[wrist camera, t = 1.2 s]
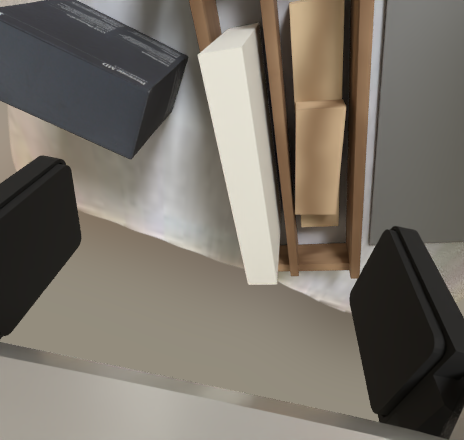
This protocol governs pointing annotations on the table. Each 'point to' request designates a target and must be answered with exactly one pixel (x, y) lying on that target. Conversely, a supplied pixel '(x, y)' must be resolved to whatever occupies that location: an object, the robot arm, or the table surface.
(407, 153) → the mat
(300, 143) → the offcut short
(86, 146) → the table surface
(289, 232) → the rack
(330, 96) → the offcut long
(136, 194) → the table surface
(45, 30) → the small box
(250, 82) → the cream rectangular panel
